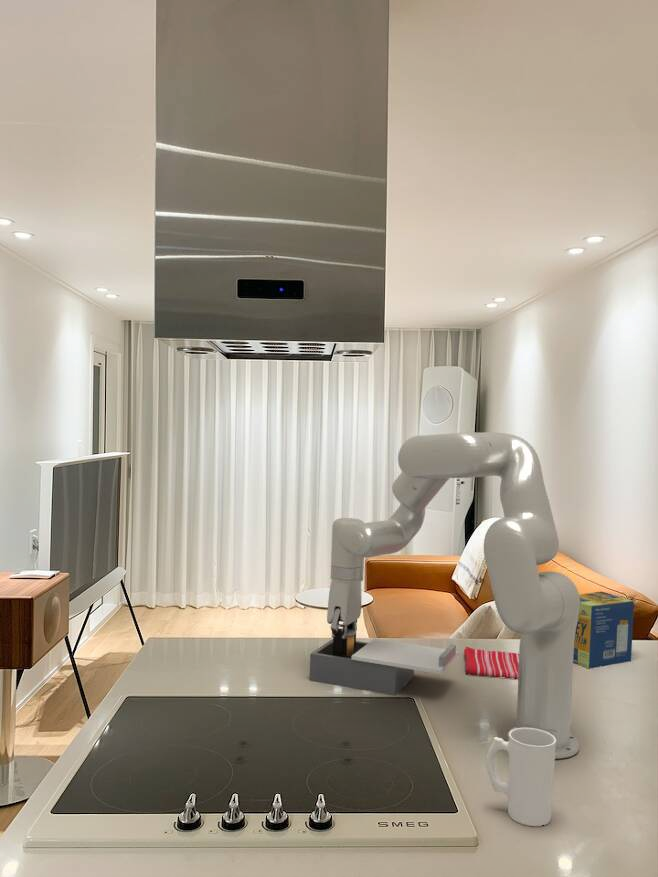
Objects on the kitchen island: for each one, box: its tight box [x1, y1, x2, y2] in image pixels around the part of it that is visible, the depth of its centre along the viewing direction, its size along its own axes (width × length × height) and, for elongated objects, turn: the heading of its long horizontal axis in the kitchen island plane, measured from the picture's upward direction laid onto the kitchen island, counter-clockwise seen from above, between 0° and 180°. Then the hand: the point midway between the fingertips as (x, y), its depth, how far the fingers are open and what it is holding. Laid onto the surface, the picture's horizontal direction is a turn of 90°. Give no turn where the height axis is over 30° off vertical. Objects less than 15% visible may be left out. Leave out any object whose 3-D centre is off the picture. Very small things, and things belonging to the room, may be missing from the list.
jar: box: [339, 627, 357, 656], centre depth 174 cm, size 5×5×5 cm
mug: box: [485, 728, 556, 827], centre depth 114 cm, size 10×7×12 cm, turn 68°
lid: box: [351, 638, 459, 675], centre depth 168 cm, size 15×20×3 cm
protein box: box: [573, 591, 635, 669], centre depth 191 cm, size 10×15×16 cm
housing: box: [309, 638, 415, 696], centre depth 172 cm, size 14×20×6 cm
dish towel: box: [463, 646, 519, 680], centre depth 182 cm, size 17×24×3 cm
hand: (344, 651), depth 174 cm, fingers closed on jar, 4 cm apart
